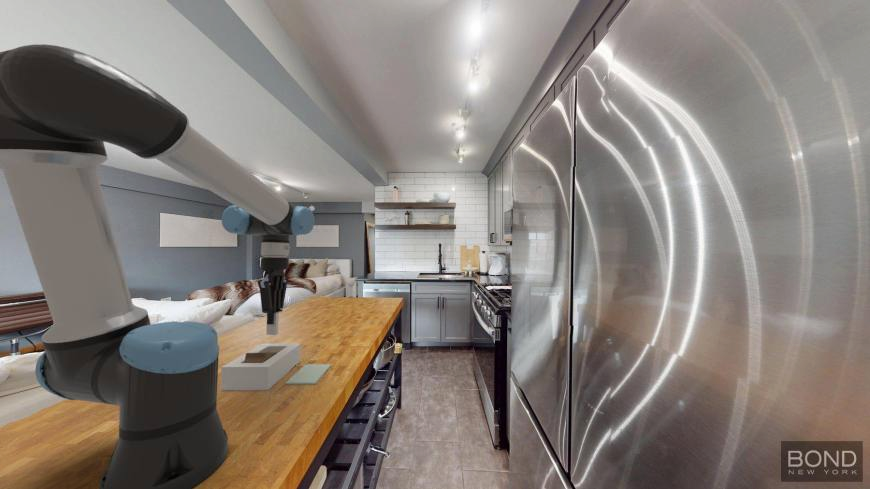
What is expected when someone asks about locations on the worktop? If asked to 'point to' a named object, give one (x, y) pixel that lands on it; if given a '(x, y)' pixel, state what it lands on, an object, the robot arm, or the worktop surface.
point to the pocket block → (260, 368)
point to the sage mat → (308, 374)
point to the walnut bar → (257, 357)
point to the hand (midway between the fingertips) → (272, 334)
